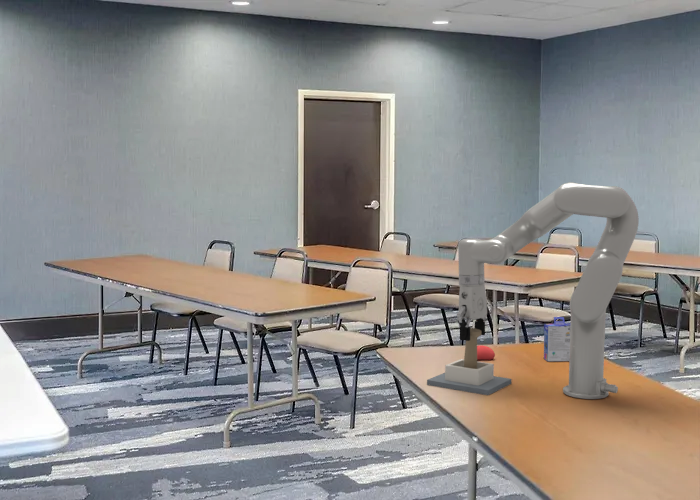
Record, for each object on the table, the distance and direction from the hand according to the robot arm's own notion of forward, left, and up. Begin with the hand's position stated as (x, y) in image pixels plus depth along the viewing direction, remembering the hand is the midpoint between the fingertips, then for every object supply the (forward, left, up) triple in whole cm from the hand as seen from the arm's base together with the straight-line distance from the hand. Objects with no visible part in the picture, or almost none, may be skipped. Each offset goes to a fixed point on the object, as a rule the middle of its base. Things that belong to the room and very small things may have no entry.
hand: (472, 337), depth 243 cm
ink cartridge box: (-9, -47, -15) cm, 50 cm away
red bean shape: (+12, -31, -15) cm, 37 cm away
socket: (+1, 0, -14) cm, 14 cm away
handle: (+1, 0, -13) cm, 13 cm away
